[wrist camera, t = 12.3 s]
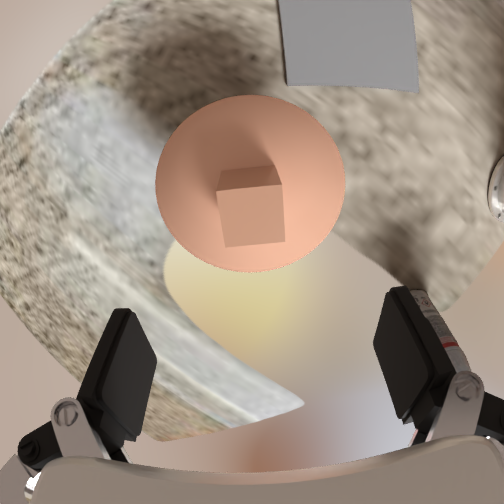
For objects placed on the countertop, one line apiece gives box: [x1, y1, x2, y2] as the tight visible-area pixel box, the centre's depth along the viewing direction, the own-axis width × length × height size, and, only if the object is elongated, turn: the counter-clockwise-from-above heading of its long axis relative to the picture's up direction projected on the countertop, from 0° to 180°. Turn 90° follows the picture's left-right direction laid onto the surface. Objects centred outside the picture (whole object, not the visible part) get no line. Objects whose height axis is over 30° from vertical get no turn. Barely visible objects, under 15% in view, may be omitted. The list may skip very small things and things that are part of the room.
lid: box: [155, 95, 345, 272], centre depth 21 cm, size 15×15×6 cm
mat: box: [278, 0, 419, 93], centre depth 22 cm, size 16×16×1 cm
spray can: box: [410, 290, 471, 373], centre depth 36 cm, size 8×8×20 cm
